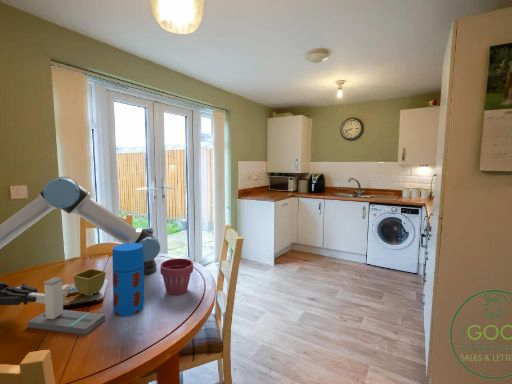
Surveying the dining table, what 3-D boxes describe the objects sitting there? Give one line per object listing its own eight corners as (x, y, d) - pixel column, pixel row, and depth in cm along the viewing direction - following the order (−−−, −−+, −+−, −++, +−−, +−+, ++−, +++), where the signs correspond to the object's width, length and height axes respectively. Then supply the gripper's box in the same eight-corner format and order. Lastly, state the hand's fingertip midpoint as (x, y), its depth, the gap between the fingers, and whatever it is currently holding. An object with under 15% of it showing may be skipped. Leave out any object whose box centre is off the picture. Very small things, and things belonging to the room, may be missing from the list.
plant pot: (196, 294, 118) (197, 266, 117) (163, 301, 111) (163, 271, 110) (188, 282, 131) (188, 256, 130) (157, 287, 124) (157, 260, 123)
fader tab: (45, 318, 93) (43, 282, 92) (55, 312, 97) (54, 277, 96) (53, 319, 92) (51, 282, 91) (63, 312, 96) (62, 278, 95)
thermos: (123, 320, 97) (122, 252, 95) (107, 311, 103) (106, 247, 100) (149, 307, 106) (149, 245, 104) (133, 299, 112) (132, 241, 110)
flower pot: (106, 291, 119) (106, 271, 118) (88, 299, 111) (88, 278, 110) (91, 287, 122) (91, 268, 121) (73, 296, 114) (72, 275, 113)
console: (27, 327, 91) (27, 321, 91) (51, 313, 100) (51, 307, 100) (85, 334, 88) (85, 328, 88) (105, 319, 97) (104, 314, 97)
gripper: (8, 294, 104) (62, 300, 101) (-32, 311, 91) (28, 319, 88) (7, 275, 103) (62, 280, 100) (-33, 290, 91) (27, 297, 87)
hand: (46, 298), depth 94 cm, fingers closed
